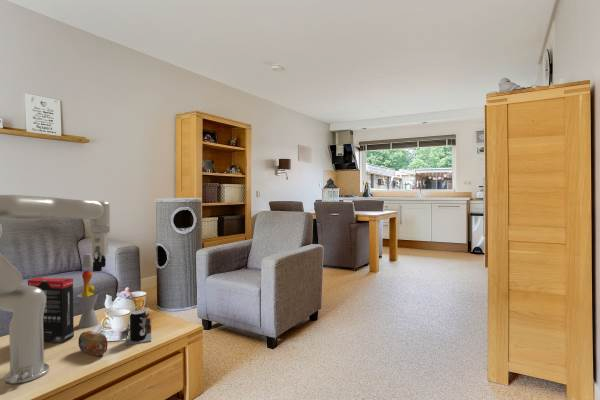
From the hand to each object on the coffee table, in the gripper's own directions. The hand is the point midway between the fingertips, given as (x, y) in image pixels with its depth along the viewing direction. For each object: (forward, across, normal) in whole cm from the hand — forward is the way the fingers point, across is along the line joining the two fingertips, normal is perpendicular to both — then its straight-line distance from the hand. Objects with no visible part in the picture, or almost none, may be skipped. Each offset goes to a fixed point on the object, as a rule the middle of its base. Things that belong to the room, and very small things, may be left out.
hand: (99, 269), depth 150 cm
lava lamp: (+32, +25, +8) cm, 41 cm away
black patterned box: (+32, +7, -16) cm, 36 cm away
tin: (+32, -10, 0) cm, 34 cm away
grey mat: (+32, -3, -16) cm, 36 cm away
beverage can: (+31, -3, -16) cm, 35 cm away
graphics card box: (+32, +11, +20) cm, 39 cm away
